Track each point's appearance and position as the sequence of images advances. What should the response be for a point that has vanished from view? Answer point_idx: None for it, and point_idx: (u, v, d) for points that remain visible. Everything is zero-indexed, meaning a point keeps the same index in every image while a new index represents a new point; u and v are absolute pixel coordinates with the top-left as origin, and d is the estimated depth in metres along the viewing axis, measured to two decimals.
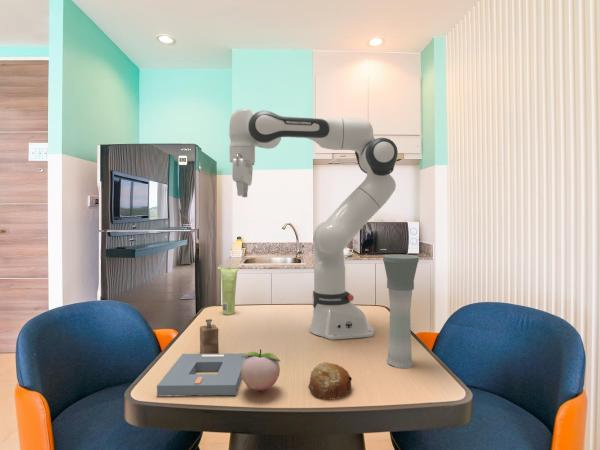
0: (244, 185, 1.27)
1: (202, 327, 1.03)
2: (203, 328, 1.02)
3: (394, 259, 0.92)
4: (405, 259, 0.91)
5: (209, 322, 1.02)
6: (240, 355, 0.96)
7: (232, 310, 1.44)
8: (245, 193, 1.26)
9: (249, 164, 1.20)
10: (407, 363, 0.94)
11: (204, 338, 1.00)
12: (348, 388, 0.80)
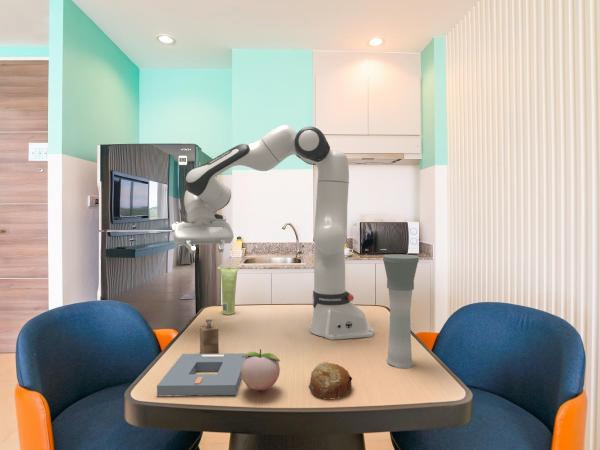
0: (220, 241, 1.22)
1: (202, 327, 1.03)
2: (203, 328, 1.02)
3: (394, 259, 0.92)
4: (405, 259, 0.91)
5: (209, 322, 1.02)
6: (240, 355, 0.96)
7: (232, 310, 1.44)
8: None
9: (199, 222, 1.21)
10: (407, 363, 0.94)
11: (204, 338, 1.00)
12: (348, 388, 0.80)
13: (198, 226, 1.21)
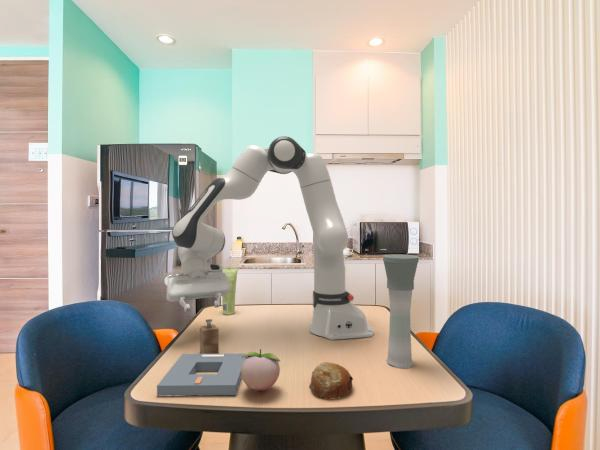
0: (216, 295, 1.15)
1: (202, 327, 1.03)
2: (203, 328, 1.02)
3: (394, 259, 0.92)
4: (405, 259, 0.91)
5: (209, 322, 1.02)
6: (240, 355, 0.96)
7: (232, 310, 1.44)
8: (214, 302, 1.12)
9: (193, 275, 1.14)
10: (407, 363, 0.94)
11: (204, 338, 1.00)
12: (349, 388, 0.80)
13: (193, 279, 1.14)
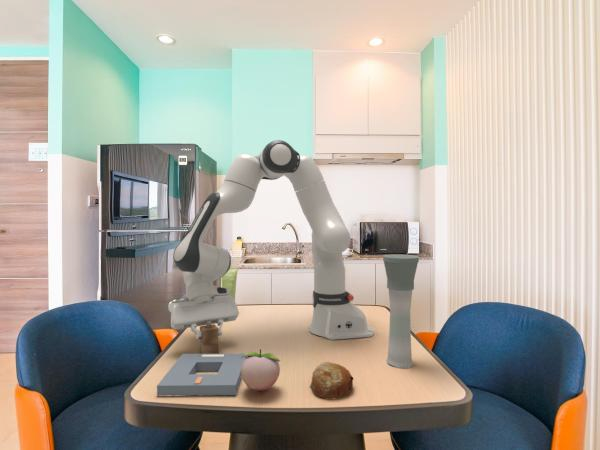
0: (217, 322, 1.07)
1: (202, 327, 1.03)
2: (203, 328, 1.02)
3: (394, 259, 0.92)
4: (405, 259, 0.91)
5: (209, 322, 1.02)
6: (240, 355, 0.96)
7: None
8: None
9: (199, 300, 1.07)
10: (407, 363, 0.94)
11: (204, 338, 1.00)
12: (350, 388, 0.80)
13: (199, 304, 1.07)
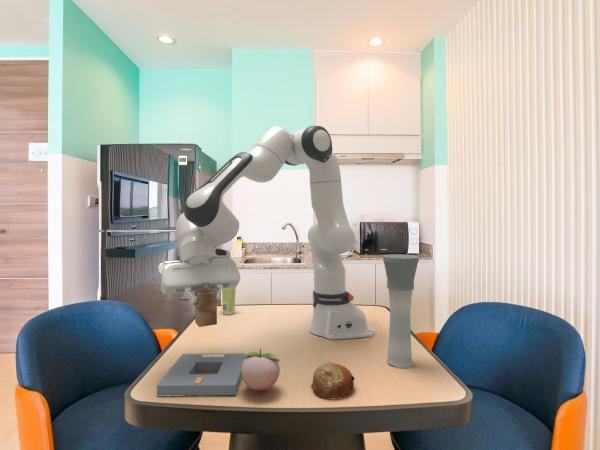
0: (216, 287, 0.92)
1: (198, 292, 0.88)
2: (199, 293, 0.87)
3: (394, 259, 0.92)
4: (405, 259, 0.91)
5: (206, 285, 0.87)
6: (240, 355, 0.96)
7: (232, 310, 1.44)
8: None
9: (194, 262, 0.91)
10: (407, 363, 0.94)
11: (200, 303, 0.85)
12: (351, 388, 0.80)
13: (194, 267, 0.91)
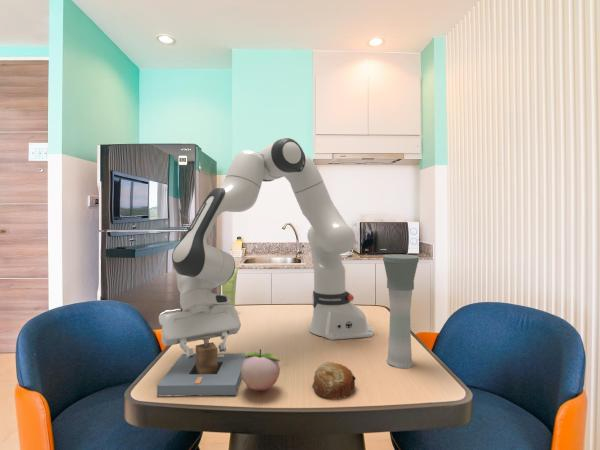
0: (221, 335, 0.92)
1: (198, 346, 0.88)
2: (199, 348, 0.87)
3: (394, 259, 0.92)
4: (405, 259, 0.91)
5: (206, 340, 0.88)
6: (240, 355, 0.96)
7: None
8: (219, 345, 0.90)
9: (195, 311, 0.92)
10: (407, 363, 0.94)
11: (201, 360, 0.85)
12: (352, 387, 0.80)
13: (194, 315, 0.92)
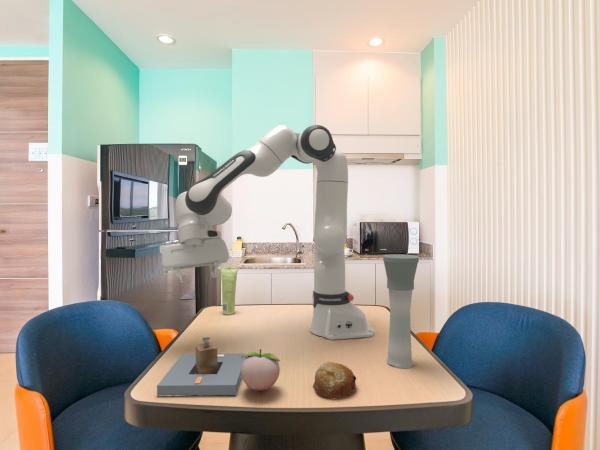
0: (214, 264, 1.10)
1: (198, 346, 0.88)
2: (199, 348, 0.87)
3: (394, 259, 0.92)
4: (405, 259, 0.92)
5: (206, 340, 0.88)
6: (240, 355, 0.96)
7: (232, 310, 1.44)
8: (211, 273, 1.08)
9: (189, 244, 1.08)
10: (407, 363, 0.94)
11: (201, 360, 0.85)
12: (353, 387, 0.80)
13: (189, 247, 1.08)
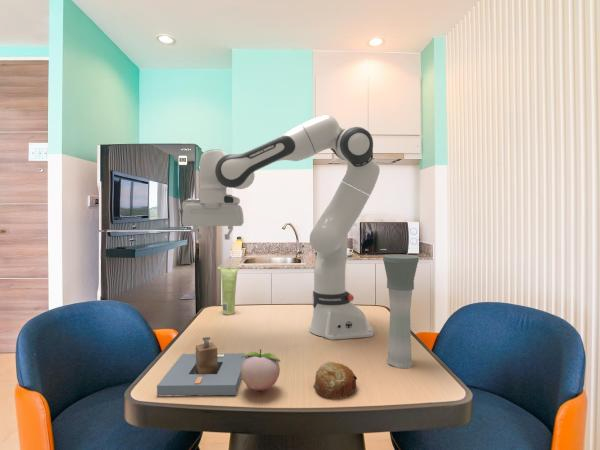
0: None
1: (198, 346, 0.88)
2: (199, 348, 0.87)
3: (394, 259, 0.92)
4: (405, 259, 0.92)
5: (206, 340, 0.88)
6: (240, 355, 0.96)
7: (232, 310, 1.44)
8: None
9: (206, 206, 1.14)
10: (407, 363, 0.94)
11: (201, 360, 0.85)
12: (353, 387, 0.80)
13: (206, 209, 1.15)
